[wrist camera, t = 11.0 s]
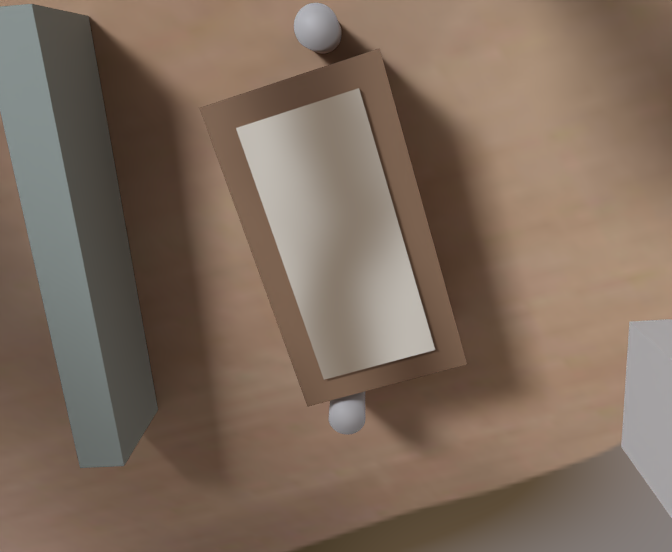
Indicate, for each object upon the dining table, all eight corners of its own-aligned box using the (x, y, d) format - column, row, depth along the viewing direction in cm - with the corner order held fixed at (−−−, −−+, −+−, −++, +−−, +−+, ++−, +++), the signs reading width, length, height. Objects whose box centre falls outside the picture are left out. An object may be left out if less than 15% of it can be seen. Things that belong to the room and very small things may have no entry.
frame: (315, 357, 32) (307, 408, 27) (226, 102, 29) (197, 108, 24) (451, 320, 32) (468, 366, 27) (376, 52, 28) (379, 47, 23)
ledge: (120, 411, 33) (80, 467, 29) (43, 19, 28) (-23, 8, 23) (366, 399, 33) (367, 455, 28) (338, -6, 27) (333, -23, 22)
